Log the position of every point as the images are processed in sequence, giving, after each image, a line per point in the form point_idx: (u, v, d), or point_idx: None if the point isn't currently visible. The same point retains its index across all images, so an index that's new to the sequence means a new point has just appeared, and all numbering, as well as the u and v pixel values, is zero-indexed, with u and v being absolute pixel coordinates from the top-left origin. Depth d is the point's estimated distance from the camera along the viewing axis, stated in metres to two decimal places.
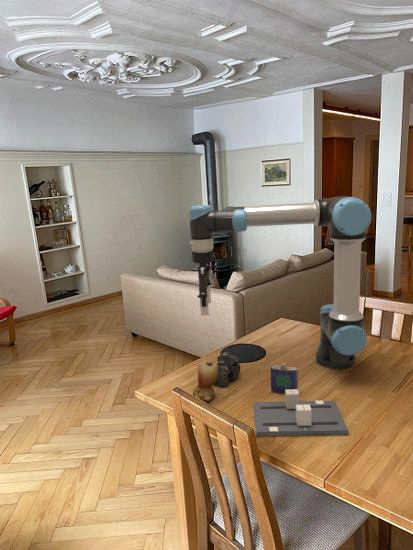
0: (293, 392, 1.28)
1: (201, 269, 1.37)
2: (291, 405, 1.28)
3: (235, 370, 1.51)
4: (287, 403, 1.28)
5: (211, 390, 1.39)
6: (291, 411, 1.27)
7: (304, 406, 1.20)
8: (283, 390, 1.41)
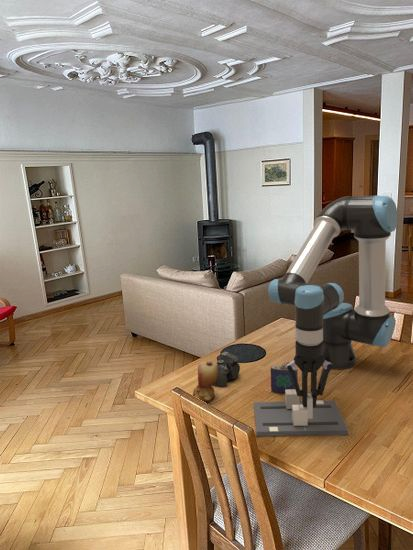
0: (293, 392, 1.28)
1: None
2: (291, 405, 1.28)
3: (234, 370, 1.51)
4: (287, 403, 1.28)
5: (211, 390, 1.39)
6: (291, 411, 1.27)
7: (300, 406, 1.20)
8: (283, 390, 1.41)
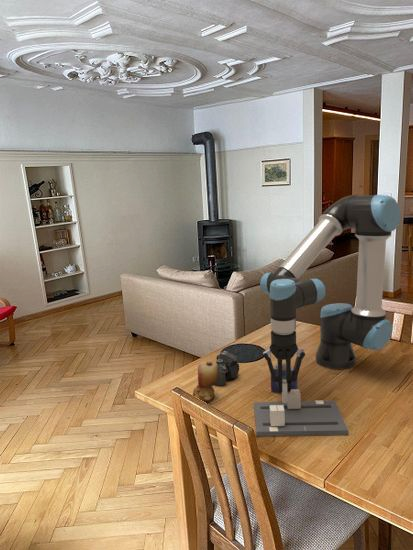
0: (294, 392, 1.28)
1: (263, 354, 1.27)
2: (292, 405, 1.28)
3: (233, 369, 1.52)
4: (288, 403, 1.28)
5: (211, 390, 1.39)
6: (291, 411, 1.27)
7: (277, 407, 1.21)
8: None
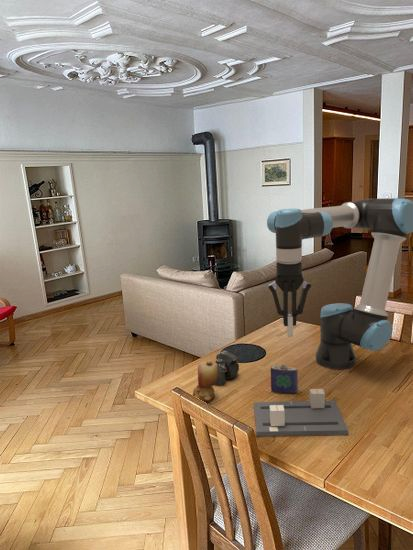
0: (318, 391, 1.27)
1: (268, 286, 1.25)
2: (316, 404, 1.27)
3: (233, 369, 1.52)
4: (312, 402, 1.27)
5: (211, 390, 1.39)
6: (291, 411, 1.27)
7: (277, 407, 1.21)
8: (283, 390, 1.41)
